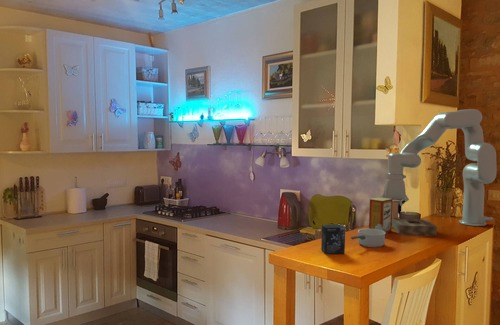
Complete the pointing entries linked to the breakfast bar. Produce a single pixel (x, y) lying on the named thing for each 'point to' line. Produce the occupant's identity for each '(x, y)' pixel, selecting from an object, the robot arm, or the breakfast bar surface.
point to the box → (333, 239)
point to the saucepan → (370, 237)
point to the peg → (394, 210)
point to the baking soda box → (380, 212)
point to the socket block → (414, 227)
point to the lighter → (379, 227)
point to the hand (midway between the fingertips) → (394, 212)
